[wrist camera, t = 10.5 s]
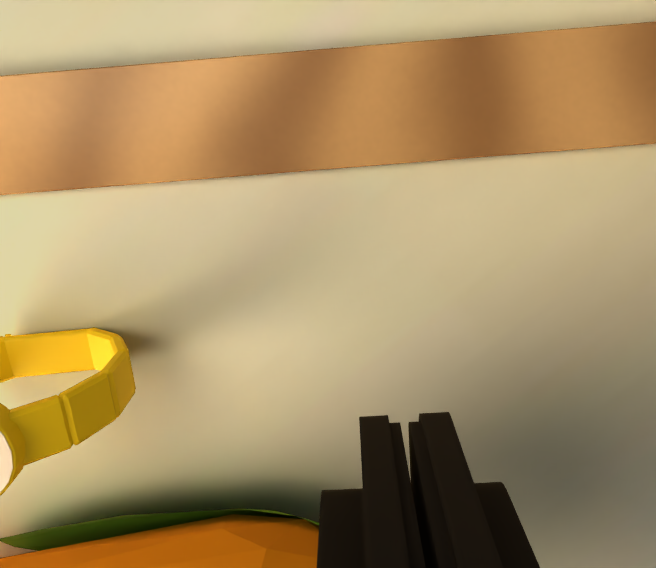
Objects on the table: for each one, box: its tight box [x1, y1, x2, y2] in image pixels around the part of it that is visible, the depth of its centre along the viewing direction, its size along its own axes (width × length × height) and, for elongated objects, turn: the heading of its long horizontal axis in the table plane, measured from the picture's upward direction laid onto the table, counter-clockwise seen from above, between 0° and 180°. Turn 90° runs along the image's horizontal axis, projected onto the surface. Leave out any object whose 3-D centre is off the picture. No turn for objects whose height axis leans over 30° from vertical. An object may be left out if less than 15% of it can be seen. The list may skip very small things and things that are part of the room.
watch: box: [0, 327, 136, 496], centre depth 15 cm, size 6×3×6 cm, turn 94°
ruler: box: [0, 22, 656, 195], centre depth 16 cm, size 30×3×1 cm, turn 94°
